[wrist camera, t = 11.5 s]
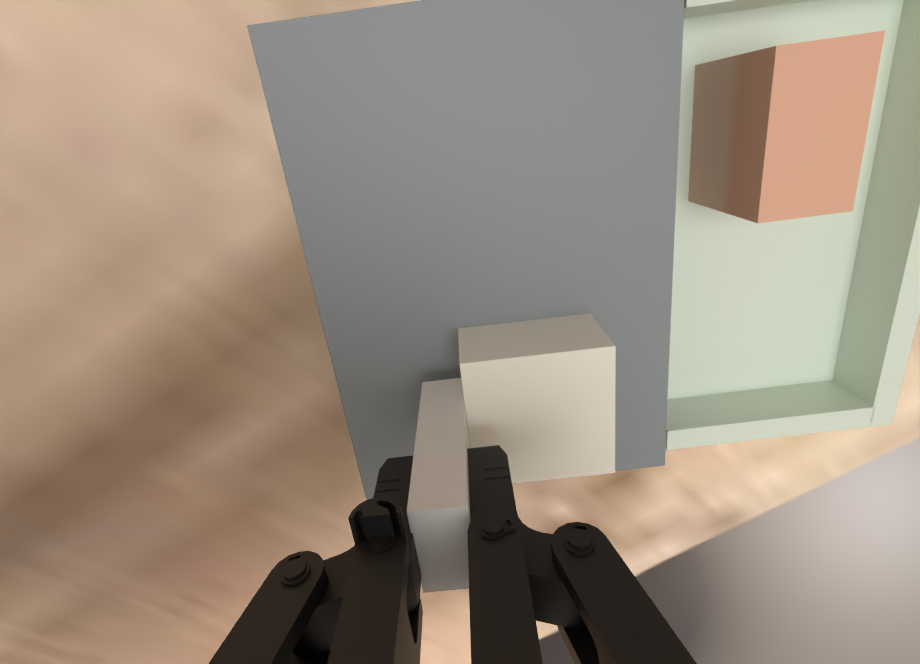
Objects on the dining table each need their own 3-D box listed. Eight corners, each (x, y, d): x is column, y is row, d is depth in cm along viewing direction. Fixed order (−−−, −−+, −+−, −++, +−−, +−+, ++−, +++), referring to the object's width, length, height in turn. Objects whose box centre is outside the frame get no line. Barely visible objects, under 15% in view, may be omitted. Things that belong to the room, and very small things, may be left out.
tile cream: (472, 439, 21) (475, 487, 18) (458, 328, 19) (459, 363, 16) (592, 425, 20) (615, 472, 18) (590, 313, 19) (615, 345, 16)
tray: (642, 413, 25) (666, 449, 22) (651, -7, 18) (688, -31, 15) (842, 390, 25) (891, 424, 22) (929, -47, 18) (1017, -78, 15)
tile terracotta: (757, 223, 16) (852, 210, 16) (776, 45, 14) (885, 30, 14) (688, 201, 20) (761, 191, 20) (695, 65, 19) (776, 54, 18)
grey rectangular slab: (378, 444, 25) (366, 499, 22) (287, 45, 18) (247, 25, 15) (632, 415, 25) (664, 465, 21) (637, -5, 18) (685, -38, 14)
